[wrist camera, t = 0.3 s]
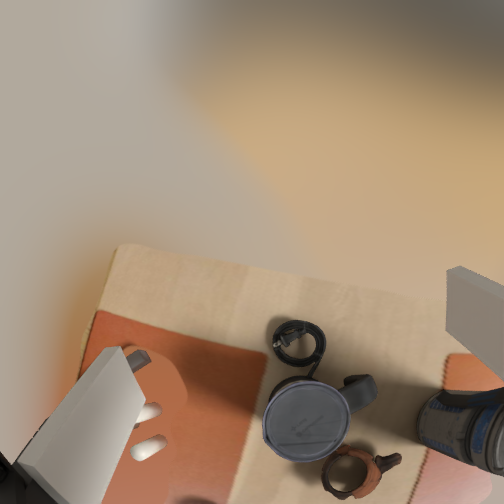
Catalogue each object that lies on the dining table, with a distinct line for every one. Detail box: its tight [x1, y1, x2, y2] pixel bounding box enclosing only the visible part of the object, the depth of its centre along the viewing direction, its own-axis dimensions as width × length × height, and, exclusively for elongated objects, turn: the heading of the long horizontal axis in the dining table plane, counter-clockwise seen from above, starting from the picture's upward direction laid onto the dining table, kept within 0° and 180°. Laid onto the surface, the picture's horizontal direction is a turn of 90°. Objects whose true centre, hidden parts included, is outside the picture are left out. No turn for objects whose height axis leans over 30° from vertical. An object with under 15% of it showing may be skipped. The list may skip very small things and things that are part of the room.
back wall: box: [126, 350, 151, 373], centre depth 42 cm, size 2×13×3 cm, turn 125°
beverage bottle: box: [417, 387, 504, 477], centre depth 24 cm, size 10×13×25 cm
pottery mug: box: [321, 445, 402, 500], centre depth 33 cm, size 12×9×8 cm
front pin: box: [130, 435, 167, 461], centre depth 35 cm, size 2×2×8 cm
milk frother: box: [262, 320, 378, 462], centre depth 35 cm, size 14×16×15 cm
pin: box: [135, 402, 162, 424], centre depth 37 cm, size 2×2×8 cm
